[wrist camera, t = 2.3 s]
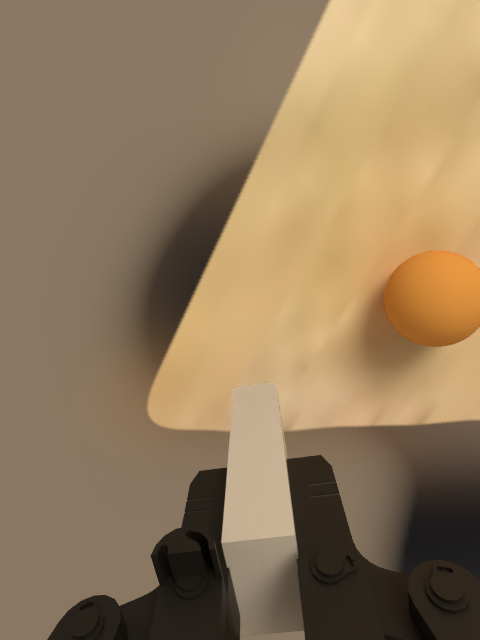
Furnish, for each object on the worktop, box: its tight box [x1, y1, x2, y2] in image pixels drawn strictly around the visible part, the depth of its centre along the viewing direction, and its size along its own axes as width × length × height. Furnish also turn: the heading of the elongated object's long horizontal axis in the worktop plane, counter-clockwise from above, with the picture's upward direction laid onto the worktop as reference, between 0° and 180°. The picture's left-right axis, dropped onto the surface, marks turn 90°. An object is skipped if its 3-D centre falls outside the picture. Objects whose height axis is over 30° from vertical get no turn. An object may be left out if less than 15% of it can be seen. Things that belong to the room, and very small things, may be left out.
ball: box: [384, 251, 480, 347], centre depth 24 cm, size 6×6×6 cm
